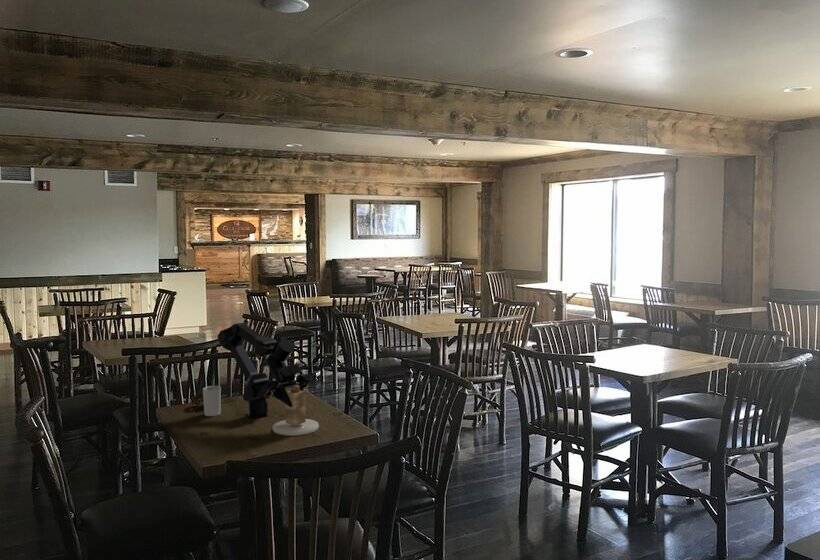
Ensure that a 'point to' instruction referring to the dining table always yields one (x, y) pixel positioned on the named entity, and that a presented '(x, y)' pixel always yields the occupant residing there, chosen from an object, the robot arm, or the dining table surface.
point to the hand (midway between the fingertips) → (297, 404)
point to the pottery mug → (197, 398)
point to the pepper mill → (295, 406)
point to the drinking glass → (212, 400)
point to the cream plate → (295, 428)
